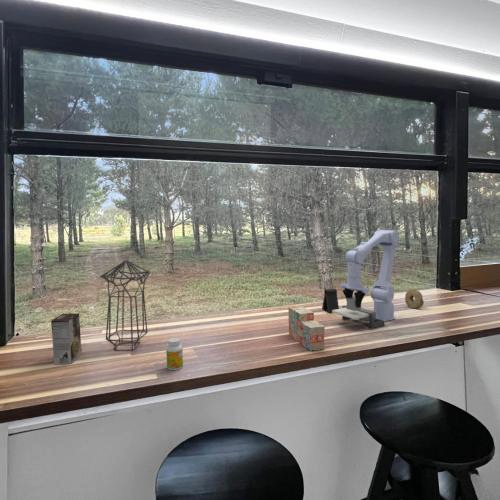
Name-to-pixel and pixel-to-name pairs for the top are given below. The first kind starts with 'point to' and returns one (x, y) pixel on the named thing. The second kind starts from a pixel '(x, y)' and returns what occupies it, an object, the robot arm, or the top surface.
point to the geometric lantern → (122, 265)
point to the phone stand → (330, 300)
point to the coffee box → (66, 338)
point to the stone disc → (418, 299)
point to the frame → (372, 322)
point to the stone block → (352, 304)
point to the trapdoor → (355, 313)
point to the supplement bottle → (174, 354)
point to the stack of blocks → (306, 328)
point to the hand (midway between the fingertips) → (353, 306)
